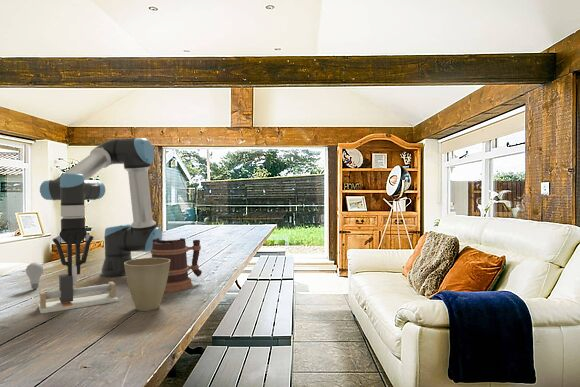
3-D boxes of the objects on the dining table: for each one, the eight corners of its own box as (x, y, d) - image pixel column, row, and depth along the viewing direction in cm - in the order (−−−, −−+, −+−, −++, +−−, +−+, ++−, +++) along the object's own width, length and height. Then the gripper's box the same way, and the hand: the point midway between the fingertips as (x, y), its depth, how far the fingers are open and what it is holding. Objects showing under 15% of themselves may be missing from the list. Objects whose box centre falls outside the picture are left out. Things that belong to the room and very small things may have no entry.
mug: (208, 287, 167) (207, 238, 167) (150, 294, 156) (149, 242, 156) (195, 278, 183) (195, 234, 183) (142, 285, 172) (141, 237, 172)
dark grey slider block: (71, 297, 146) (70, 273, 145) (73, 300, 141) (72, 276, 141) (59, 299, 143) (59, 275, 143) (61, 302, 139) (60, 277, 139)
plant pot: (127, 317, 129) (126, 267, 129) (122, 305, 142) (121, 259, 142) (175, 310, 136) (174, 262, 135) (166, 299, 149) (165, 256, 149)
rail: (112, 295, 156) (111, 280, 155) (118, 301, 147) (117, 285, 147) (38, 306, 142) (38, 289, 142) (40, 313, 134) (40, 295, 134)
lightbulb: (35, 291, 163) (34, 264, 163) (22, 290, 164) (21, 263, 164) (47, 287, 169) (46, 261, 169) (34, 287, 170) (34, 261, 170)
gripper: (91, 216, 150) (92, 279, 150) (50, 217, 143) (51, 284, 143) (95, 217, 144) (96, 283, 144) (52, 218, 137) (54, 289, 137)
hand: (74, 284), depth 144 cm, fingers closed
